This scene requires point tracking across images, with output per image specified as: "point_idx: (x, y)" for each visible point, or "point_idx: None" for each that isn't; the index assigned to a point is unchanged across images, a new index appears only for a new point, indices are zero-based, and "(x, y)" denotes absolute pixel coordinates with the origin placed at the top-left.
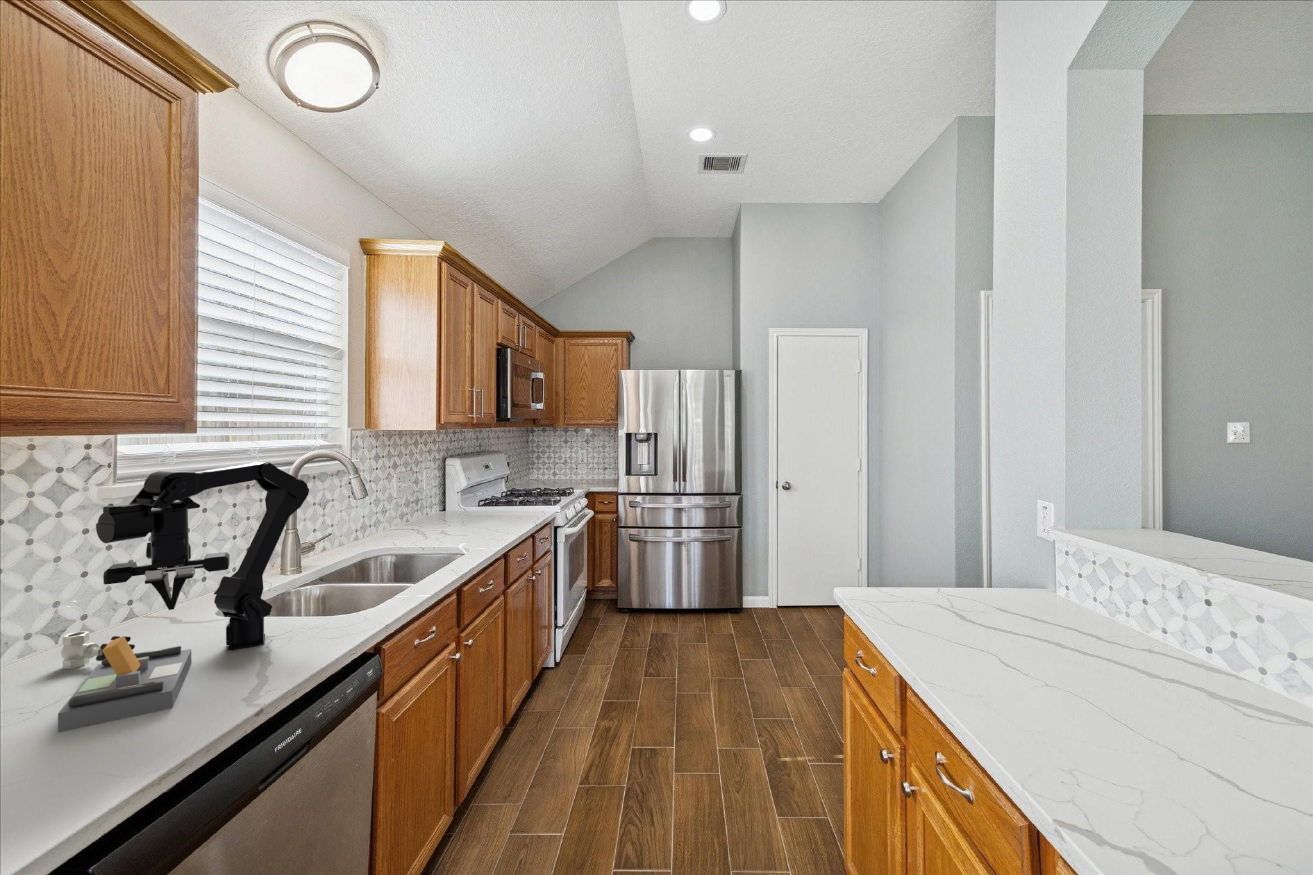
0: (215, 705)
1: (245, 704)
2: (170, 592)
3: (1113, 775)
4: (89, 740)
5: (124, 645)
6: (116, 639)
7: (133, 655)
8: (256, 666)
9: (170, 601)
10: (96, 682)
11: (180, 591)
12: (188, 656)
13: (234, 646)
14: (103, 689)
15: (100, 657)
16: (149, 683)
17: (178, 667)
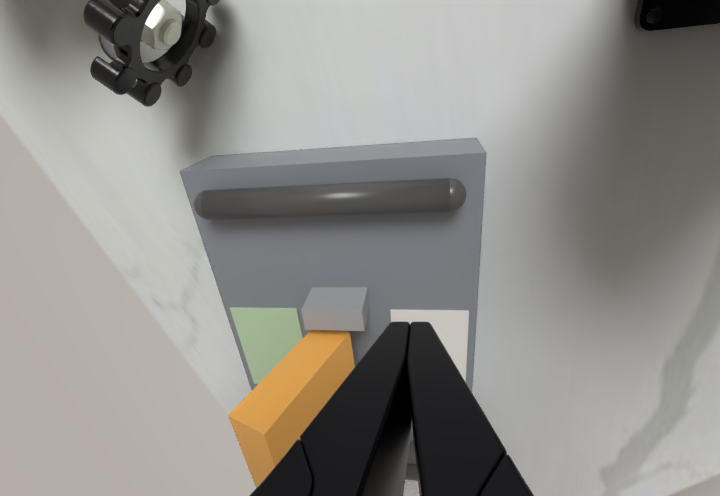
0: (544, 467)
1: (601, 492)
2: (379, 447)
3: None
4: None
5: (295, 438)
6: (250, 435)
7: (326, 375)
8: (687, 299)
9: (408, 441)
10: (266, 344)
11: (503, 451)
12: (480, 237)
13: (672, 12)
14: None
15: (145, 103)
16: (414, 463)
17: (461, 350)
